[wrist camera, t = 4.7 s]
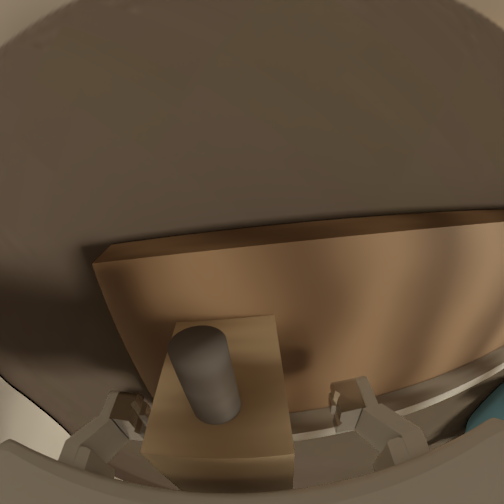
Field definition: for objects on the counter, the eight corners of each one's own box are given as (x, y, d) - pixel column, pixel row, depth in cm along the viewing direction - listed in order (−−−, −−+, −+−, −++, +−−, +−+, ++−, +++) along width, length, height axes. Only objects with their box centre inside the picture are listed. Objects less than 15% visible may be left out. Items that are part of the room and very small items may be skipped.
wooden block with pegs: (215, 426, 14) (210, 512, 9) (160, 268, 10) (95, 399, 4) (281, 422, 14) (290, 509, 9) (269, 257, 10) (296, 401, 4)
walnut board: (176, 405, 16) (168, 447, 13) (111, 244, 12) (73, 281, 8) (501, 336, 16) (521, 359, 13) (540, 208, 11) (570, 224, 8)
